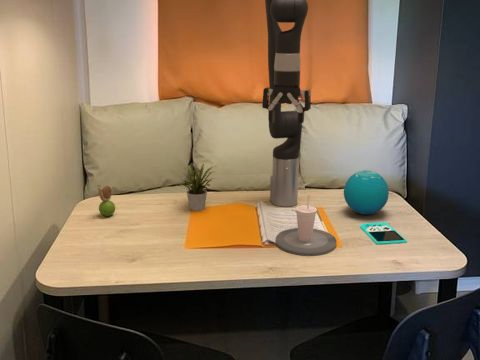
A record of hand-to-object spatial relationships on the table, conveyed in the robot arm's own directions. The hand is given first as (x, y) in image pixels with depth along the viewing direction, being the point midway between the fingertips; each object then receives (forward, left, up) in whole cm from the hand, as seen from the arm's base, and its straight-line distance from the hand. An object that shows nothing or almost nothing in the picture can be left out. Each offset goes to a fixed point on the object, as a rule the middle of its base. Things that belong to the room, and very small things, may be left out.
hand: (285, 123), depth 166 cm
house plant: (-32, -9, -34) cm, 48 cm away
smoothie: (+12, -2, -33) cm, 35 cm away
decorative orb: (+7, +32, -34) cm, 47 cm away
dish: (+12, -2, -34) cm, 36 cm away
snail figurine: (-46, -38, -34) cm, 69 cm away
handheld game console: (+22, +22, -35) cm, 47 cm away
